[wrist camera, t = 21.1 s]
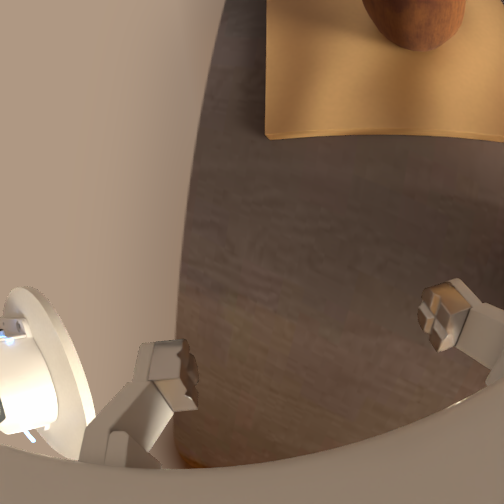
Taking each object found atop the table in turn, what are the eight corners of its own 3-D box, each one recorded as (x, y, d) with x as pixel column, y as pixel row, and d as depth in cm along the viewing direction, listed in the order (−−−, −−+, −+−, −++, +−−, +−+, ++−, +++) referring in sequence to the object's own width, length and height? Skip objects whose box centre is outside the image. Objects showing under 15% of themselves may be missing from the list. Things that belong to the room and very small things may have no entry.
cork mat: (269, 140, 19) (264, 135, 18) (270, -14, 19) (266, -21, 18) (552, 151, 11) (558, 146, 10) (486, -12, 11) (488, -19, 10)
